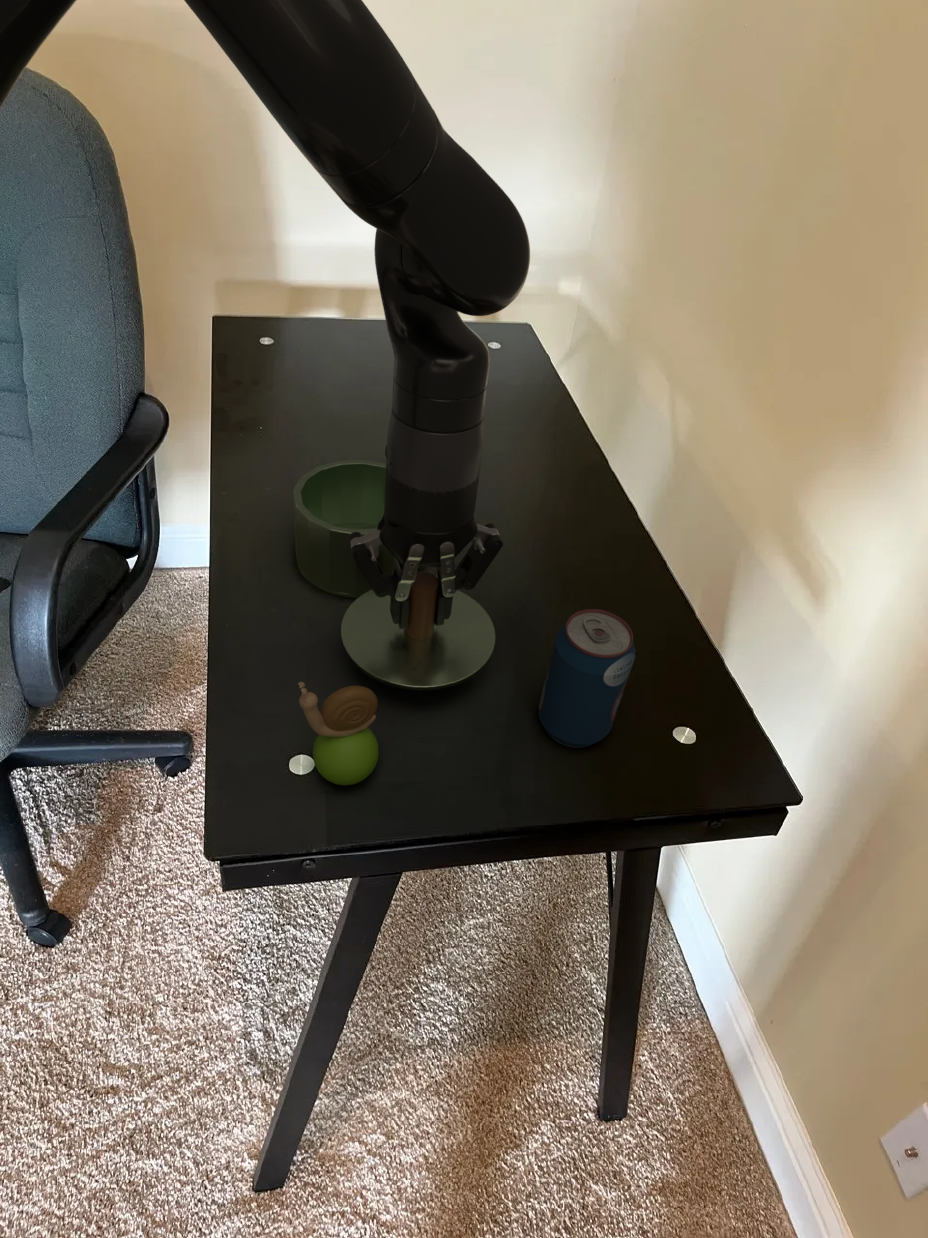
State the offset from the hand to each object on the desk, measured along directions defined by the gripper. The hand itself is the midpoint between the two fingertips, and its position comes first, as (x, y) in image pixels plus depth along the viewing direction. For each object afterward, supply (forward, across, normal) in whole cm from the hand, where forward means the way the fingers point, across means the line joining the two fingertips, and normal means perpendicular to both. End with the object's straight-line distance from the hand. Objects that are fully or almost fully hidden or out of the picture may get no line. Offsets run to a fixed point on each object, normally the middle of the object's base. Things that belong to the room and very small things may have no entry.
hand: (420, 620), depth 77 cm
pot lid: (+2, 0, 0) cm, 2 cm away
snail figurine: (+6, -9, -12) cm, 16 cm away
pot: (+6, -3, +17) cm, 18 cm away
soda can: (+6, +13, -10) cm, 17 cm away
